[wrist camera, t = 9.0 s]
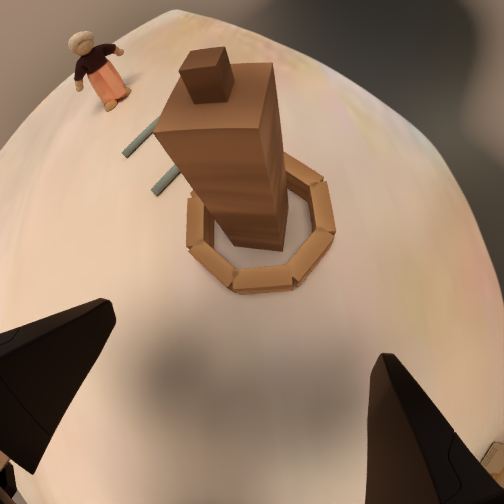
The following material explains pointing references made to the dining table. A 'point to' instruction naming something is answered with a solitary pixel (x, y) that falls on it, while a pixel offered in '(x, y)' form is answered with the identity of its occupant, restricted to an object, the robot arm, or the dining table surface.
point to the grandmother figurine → (98, 68)
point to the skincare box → (495, 462)
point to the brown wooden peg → (230, 145)
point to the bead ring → (271, 277)
